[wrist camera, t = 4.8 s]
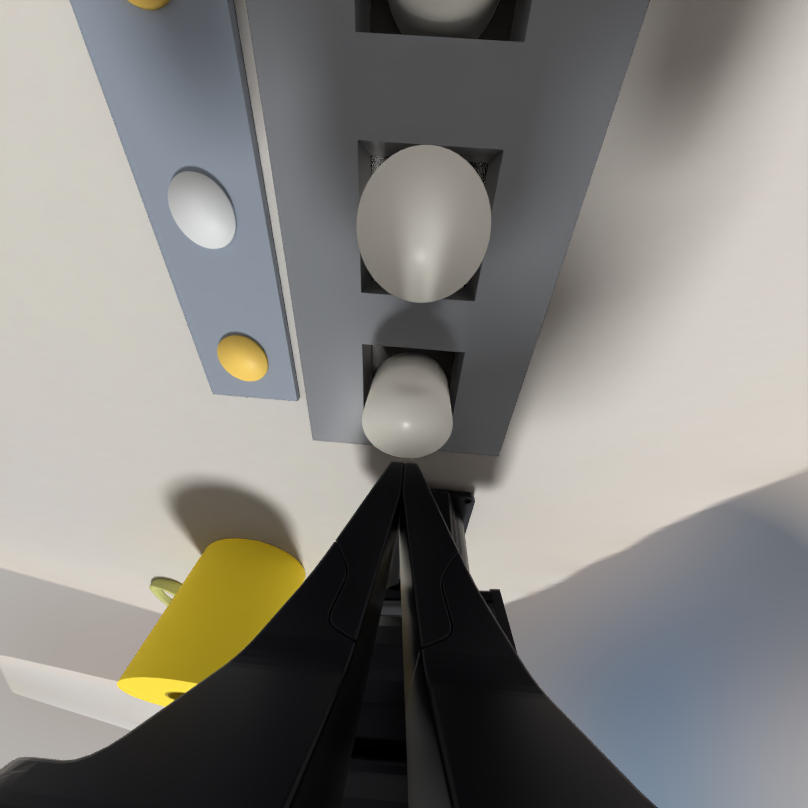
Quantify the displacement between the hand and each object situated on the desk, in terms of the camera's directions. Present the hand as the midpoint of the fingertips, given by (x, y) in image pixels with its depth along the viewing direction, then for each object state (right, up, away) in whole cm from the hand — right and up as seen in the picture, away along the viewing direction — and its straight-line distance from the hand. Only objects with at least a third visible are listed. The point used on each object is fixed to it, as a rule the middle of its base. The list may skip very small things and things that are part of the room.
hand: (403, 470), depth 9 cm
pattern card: (-8, +10, +3) cm, 13 cm away
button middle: (+1, +8, +1) cm, 9 cm away
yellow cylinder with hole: (-15, -14, +19) cm, 28 cm away
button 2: (0, +3, +4) cm, 5 cm away
